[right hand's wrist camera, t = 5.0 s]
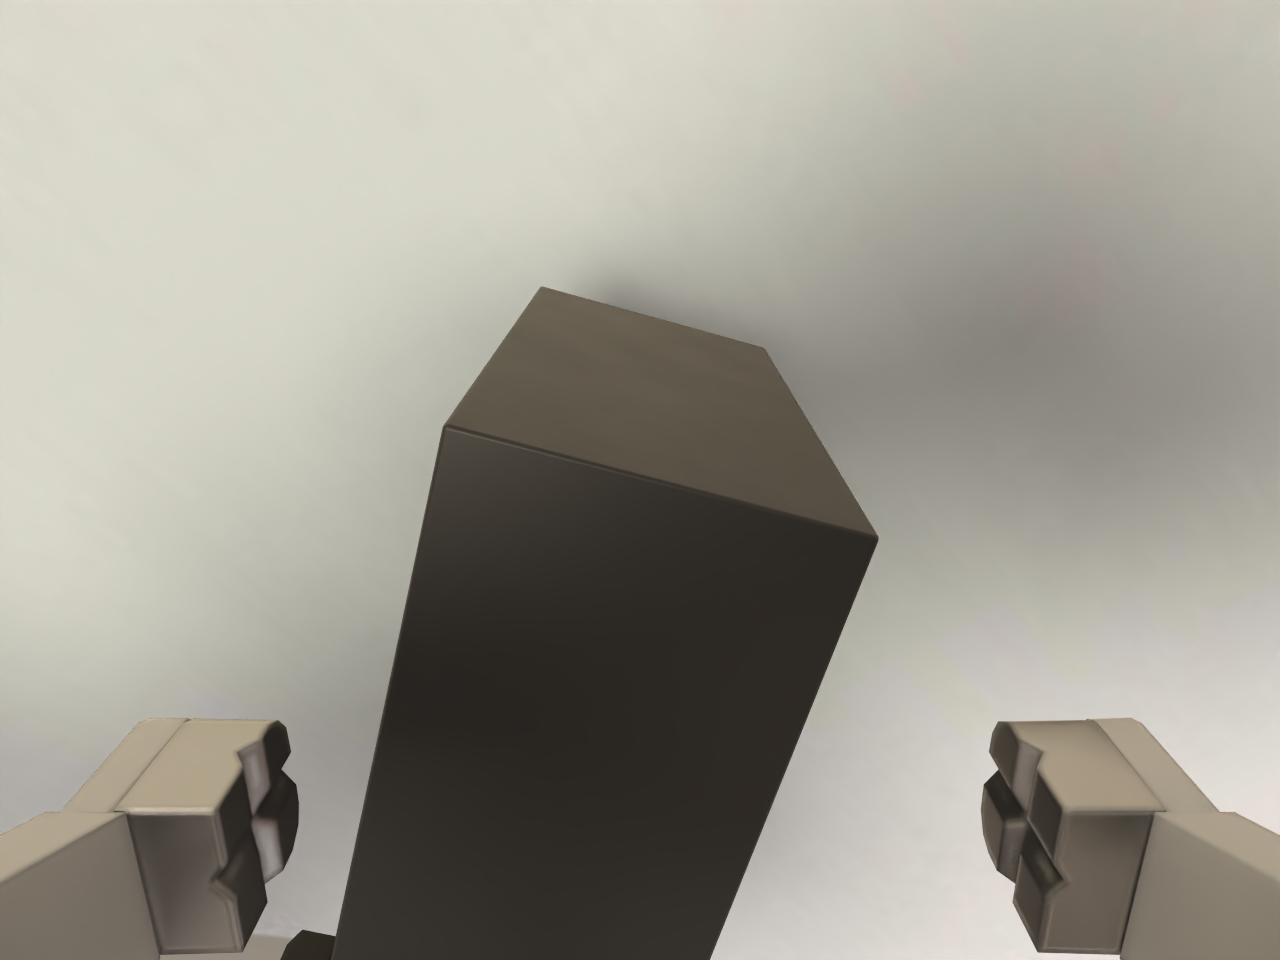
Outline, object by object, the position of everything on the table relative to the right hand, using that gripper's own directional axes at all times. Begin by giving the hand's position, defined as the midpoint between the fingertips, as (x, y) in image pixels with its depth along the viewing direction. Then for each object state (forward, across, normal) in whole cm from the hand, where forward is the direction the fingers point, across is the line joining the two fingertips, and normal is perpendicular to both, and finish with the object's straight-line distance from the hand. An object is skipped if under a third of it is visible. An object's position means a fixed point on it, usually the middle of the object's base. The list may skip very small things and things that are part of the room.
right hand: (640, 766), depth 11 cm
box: (+14, -2, -7) cm, 16 cm away
